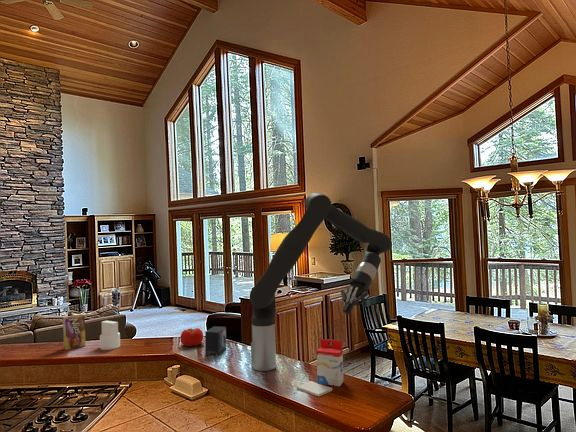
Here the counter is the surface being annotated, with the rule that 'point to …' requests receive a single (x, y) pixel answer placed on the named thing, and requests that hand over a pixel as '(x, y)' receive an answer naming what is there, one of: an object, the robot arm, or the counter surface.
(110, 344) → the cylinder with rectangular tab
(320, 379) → the ink box
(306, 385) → the pad
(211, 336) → the small box
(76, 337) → the candy box
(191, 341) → the tomato
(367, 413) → the counter surface
